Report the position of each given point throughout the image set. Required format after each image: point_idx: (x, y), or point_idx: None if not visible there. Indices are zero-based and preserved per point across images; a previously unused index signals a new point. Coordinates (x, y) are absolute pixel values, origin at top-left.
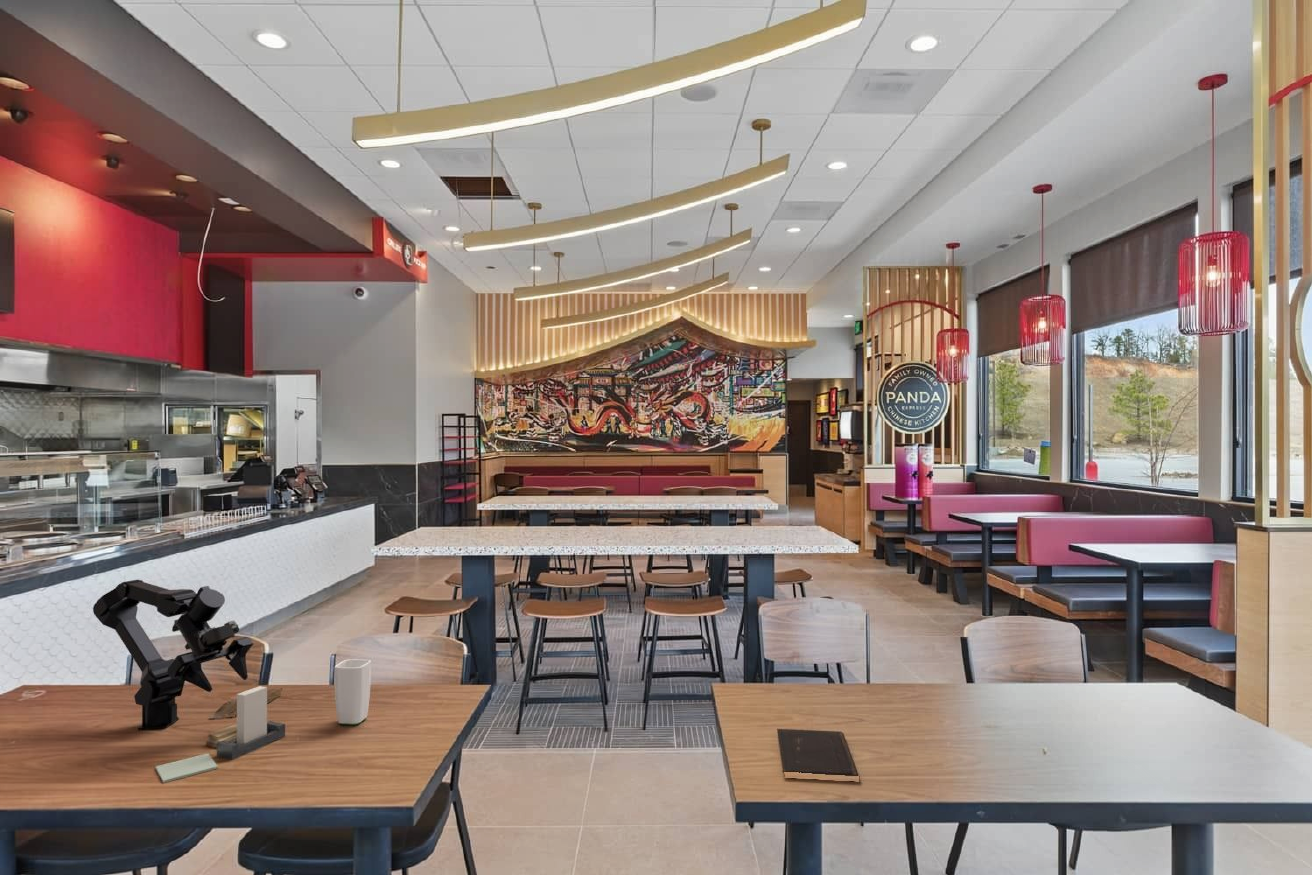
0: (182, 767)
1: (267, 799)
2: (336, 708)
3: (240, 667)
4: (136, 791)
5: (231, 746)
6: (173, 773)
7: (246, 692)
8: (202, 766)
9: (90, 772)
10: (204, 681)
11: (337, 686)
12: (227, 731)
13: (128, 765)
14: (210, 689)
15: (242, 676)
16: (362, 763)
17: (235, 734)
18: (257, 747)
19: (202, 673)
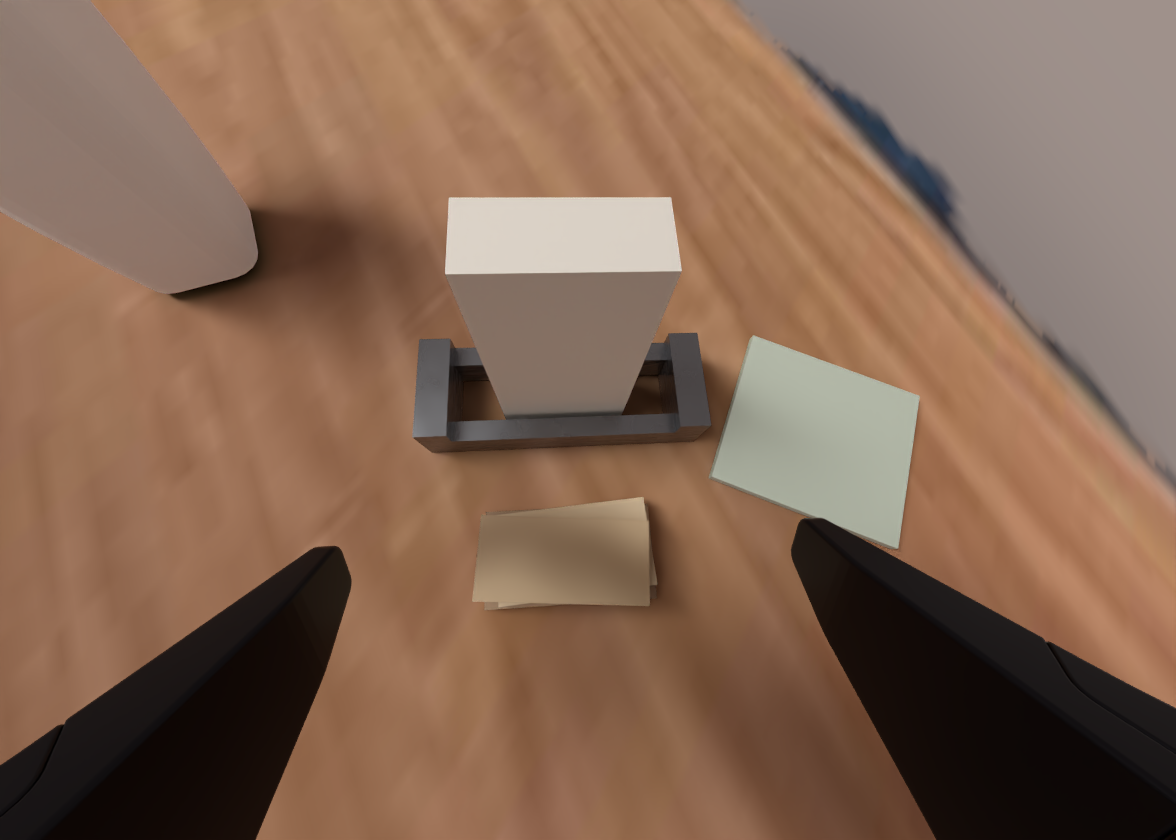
0: (833, 440)
1: (770, 81)
2: (210, 220)
3: (205, 747)
4: (992, 418)
5: (697, 337)
6: (875, 419)
7: (615, 239)
8: (785, 381)
9: None
10: (954, 591)
11: (103, 84)
12: (581, 544)
13: None
14: (821, 520)
15: (327, 625)
16: (508, 28)
17: (561, 511)
18: None
19: (1101, 720)
